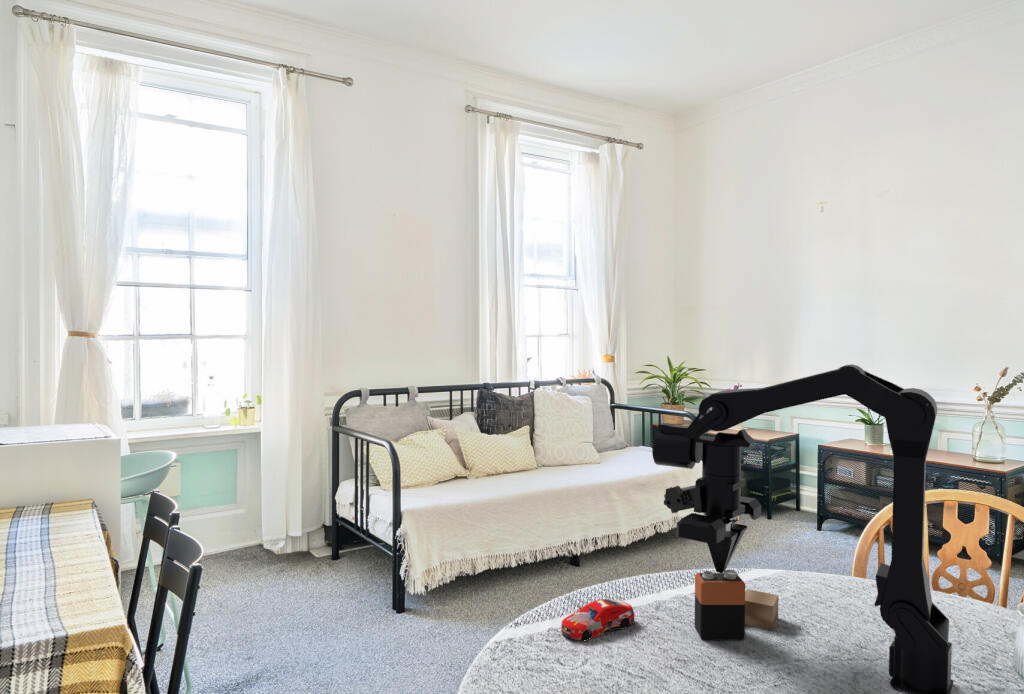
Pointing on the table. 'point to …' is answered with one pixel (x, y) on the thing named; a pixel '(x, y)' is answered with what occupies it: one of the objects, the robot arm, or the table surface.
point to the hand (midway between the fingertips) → (720, 571)
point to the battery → (720, 605)
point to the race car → (597, 619)
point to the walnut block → (761, 609)
